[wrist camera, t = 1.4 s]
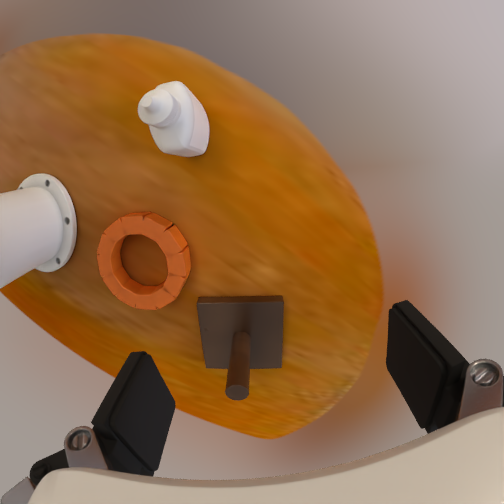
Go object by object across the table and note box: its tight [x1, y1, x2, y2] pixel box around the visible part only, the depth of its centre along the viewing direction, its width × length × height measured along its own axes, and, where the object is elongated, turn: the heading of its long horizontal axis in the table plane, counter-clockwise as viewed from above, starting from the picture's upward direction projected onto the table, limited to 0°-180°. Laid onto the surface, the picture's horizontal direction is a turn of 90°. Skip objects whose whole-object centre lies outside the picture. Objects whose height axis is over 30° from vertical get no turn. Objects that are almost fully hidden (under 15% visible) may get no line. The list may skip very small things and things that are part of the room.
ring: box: [97, 212, 191, 310], centre depth 27 cm, size 10×10×2 cm
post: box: [197, 296, 284, 400], centre depth 26 cm, size 9×9×10 cm
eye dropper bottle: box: [138, 81, 209, 157], centre depth 19 cm, size 4×6×12 cm
